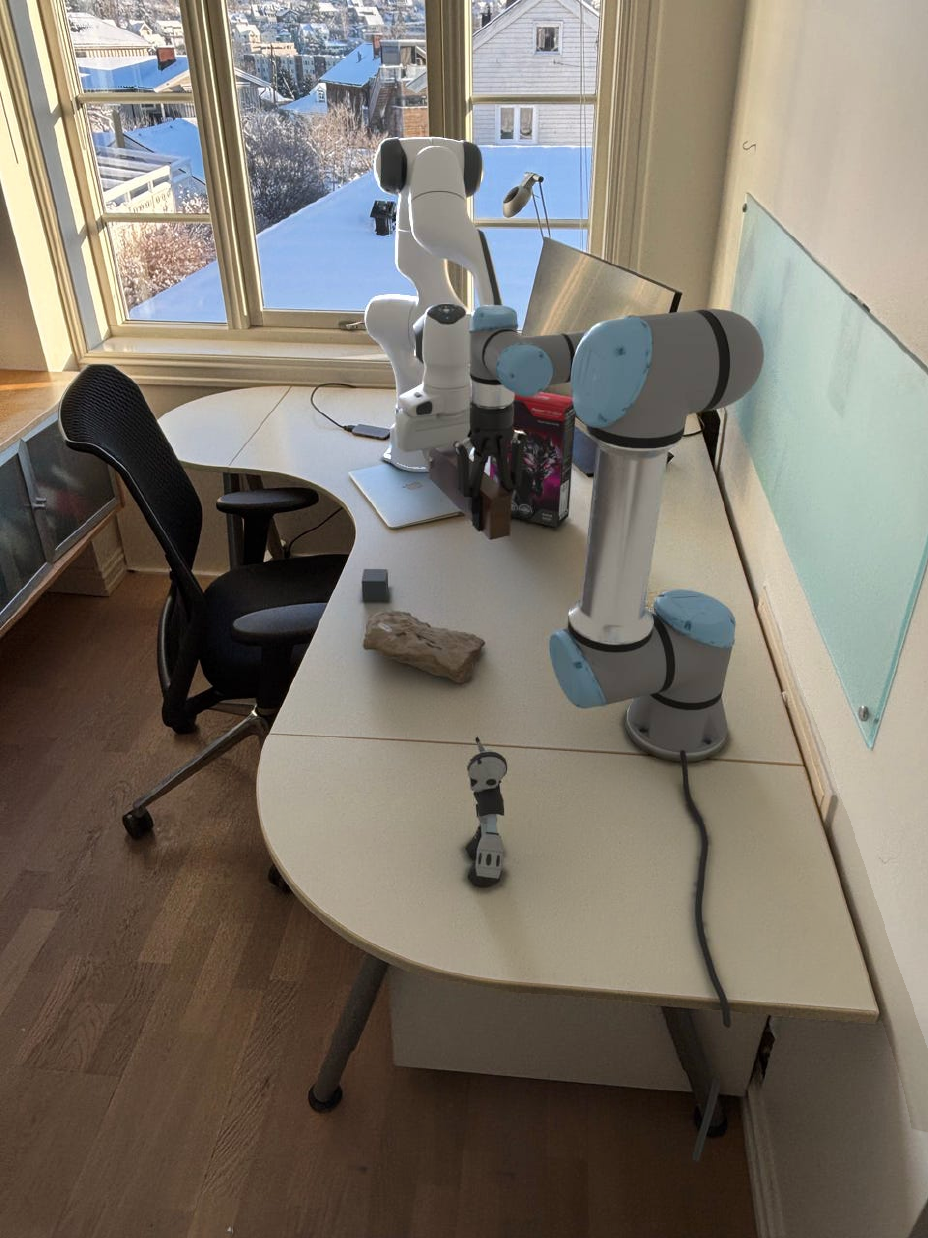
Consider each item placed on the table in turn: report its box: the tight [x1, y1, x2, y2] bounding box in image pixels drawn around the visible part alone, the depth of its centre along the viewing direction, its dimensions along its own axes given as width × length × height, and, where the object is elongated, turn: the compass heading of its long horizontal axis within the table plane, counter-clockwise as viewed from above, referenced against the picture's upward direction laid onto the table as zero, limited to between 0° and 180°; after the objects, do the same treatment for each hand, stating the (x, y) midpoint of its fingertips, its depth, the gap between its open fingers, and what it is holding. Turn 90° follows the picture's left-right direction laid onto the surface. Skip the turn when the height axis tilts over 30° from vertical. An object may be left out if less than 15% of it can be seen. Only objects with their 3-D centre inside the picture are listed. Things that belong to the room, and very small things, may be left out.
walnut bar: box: [428, 444, 512, 541], centre depth 173 cm, size 28×4×8 cm, turn 25°
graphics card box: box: [489, 391, 577, 528], centre depth 195 cm, size 17×7×27 cm, turn 62°
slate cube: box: [361, 568, 389, 603], centre depth 174 cm, size 4×4×4 cm
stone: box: [362, 609, 486, 684], centre depth 156 cm, size 21×15×6 cm
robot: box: [465, 736, 508, 888], centre depth 115 cm, size 20×5×20 cm, turn 3°
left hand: (446, 464), depth 180 cm, fingers open, 6 cm apart
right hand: (488, 525), depth 168 cm, fingers closed on walnut bar, 4 cm apart
